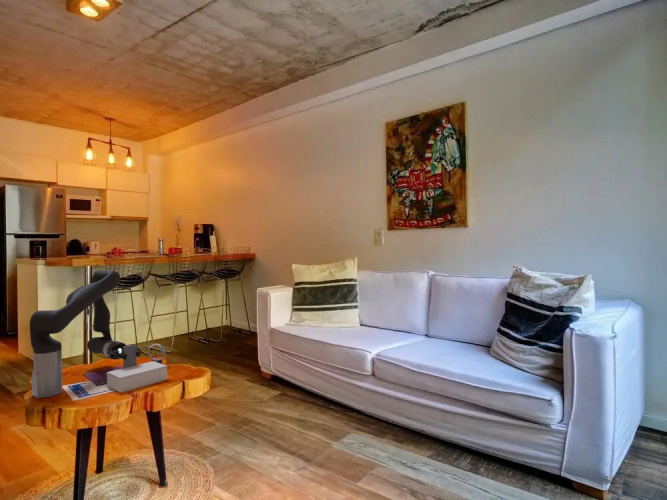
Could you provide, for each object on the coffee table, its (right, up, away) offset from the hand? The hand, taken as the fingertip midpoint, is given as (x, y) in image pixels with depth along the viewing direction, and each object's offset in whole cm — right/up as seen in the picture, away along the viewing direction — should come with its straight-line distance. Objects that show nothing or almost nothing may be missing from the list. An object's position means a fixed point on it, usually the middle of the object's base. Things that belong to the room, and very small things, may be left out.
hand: (132, 355), depth 177 cm
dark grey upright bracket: (+3, -10, -2) cm, 11 cm away
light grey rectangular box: (+4, -11, -3) cm, 12 cm away
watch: (+2, -11, +21) cm, 23 cm away
